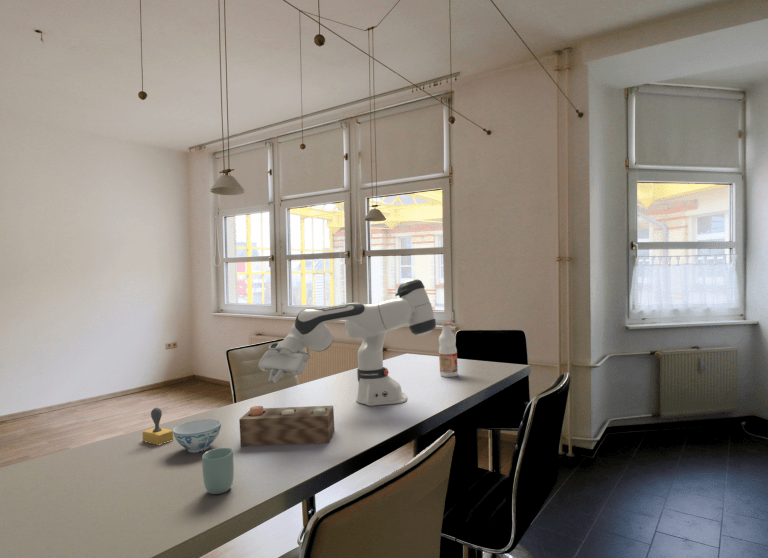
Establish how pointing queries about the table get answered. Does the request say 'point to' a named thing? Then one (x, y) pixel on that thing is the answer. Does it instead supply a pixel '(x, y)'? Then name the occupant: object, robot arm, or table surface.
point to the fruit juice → (447, 352)
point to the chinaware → (197, 434)
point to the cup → (218, 470)
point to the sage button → (319, 410)
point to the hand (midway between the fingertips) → (271, 381)
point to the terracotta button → (256, 410)
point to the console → (287, 426)
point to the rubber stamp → (157, 430)
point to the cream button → (287, 411)
